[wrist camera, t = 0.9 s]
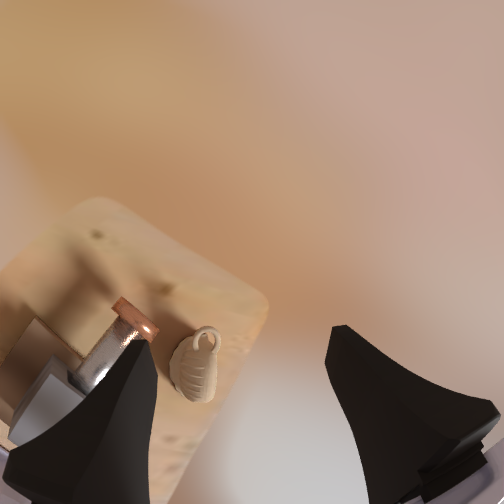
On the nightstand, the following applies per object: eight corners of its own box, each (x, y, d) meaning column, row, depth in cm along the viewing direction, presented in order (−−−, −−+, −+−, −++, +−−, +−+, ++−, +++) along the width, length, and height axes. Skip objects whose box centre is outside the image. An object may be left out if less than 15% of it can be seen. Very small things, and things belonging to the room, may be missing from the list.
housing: (83, 466, 18) (95, 506, 13) (-17, 395, 13) (-33, 427, 8) (136, 398, 23) (158, 429, 18) (36, 315, 18) (26, 329, 13)
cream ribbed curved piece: (167, 397, 25) (189, 419, 21) (173, 316, 26) (198, 325, 22) (202, 396, 27) (230, 415, 23) (210, 320, 29) (240, 328, 24)
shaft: (79, 417, 18) (84, 441, 14) (42, 390, 16) (40, 411, 13) (151, 326, 23) (166, 335, 20) (117, 294, 21) (126, 298, 18)
